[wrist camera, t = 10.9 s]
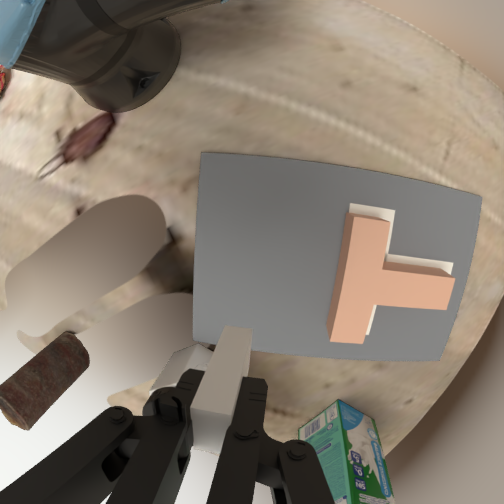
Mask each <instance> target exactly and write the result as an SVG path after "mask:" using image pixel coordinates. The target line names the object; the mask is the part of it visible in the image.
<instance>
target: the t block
mask: <svg viewBox="0 0 504 504" xmlns="http://www.w3.org/2000/svg"><path fill="white" fill-rule="evenodd" d="M390 223H391V222H389V221H387V220H384V219H382V218H380V217H374V216H368V215H361V214H355V213H348V212H346V218H345V225H344V232H343V238H342V245H341V251H340V257H339V263H338V268H337V274H336V279H335V285H334V290H333V295H332V300H331V305H330V310H329V314H328V319H327V323H326V327H327V331H328V336H329V340H330V342H341V343H355V344H363V342H364V339H365V335H366V332H367V328H368V325H369V321H370V317H371V313H372V310H373V306H374V305H384V306H396V307H408V308H422V309H437V310H447V306H448V303H449V300H450V296H451V293H452V289H453V286H454V282H455V278H454V277H453V276H451V275H450V274H448V273H447V272H445V271H444V270H442V269H441V268H433V267H426V266H418V265H410V264H403V263H395V262H387V261H384V257H385V251H386V246H387V241H388V235H389V229H390Z"/></svg>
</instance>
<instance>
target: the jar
mask: <svg viewBox="0 0 504 504" xmlns="http://www.w3.org/2000/svg"><path fill="white" fill-rule="evenodd" d="M213 353H214V352H213V351H211V350H209V349H208V348H206V347H204V346H203V345H201V344H199V343H198V344H195V345H192V346H190V347H187V348H185V349H182V350H179V351H177V352H174V353H173V355H172V356H171V358H170V359H169V361H168V362H167V364H166V366H165V367H164V369H163V370H162V372H161V373H160V375H159V376H158V378H157V379H156V381H155V383H154V384H153V386H152V387H151V389H150V390H149V394H150V397H149V399H148V401H147V402H146V404H145V405H144V407H143V411H142V414H143V416H152V415H154V413H153V407H152V402H151V400H152V399H153V398H154V397H155V396H158V395H160V394H165V393H170V394H172V392H173V390H174V388H175V387H176V385H177V383H178V382H179V379H180V377H181V375H182V374H183V373H184V372H185V371H187V370H188V369H189V368H191V369H197V370H202V371H206V369H207V367H208V364H209V362H210V360H211V357H212V355H213ZM192 446H193V445H192Z"/></svg>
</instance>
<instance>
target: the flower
mask: <svg viewBox="0 0 504 504" xmlns="http://www.w3.org/2000/svg"><path fill="white" fill-rule="evenodd" d="M3 69H4V66H3V65H0V92H2V91H3V89H4V88H5V86H6V84H7V83H8V82H7V83H6V84H5V85H4V78H5V73H1V71H2V70H3ZM0 97H1V95H0Z"/></svg>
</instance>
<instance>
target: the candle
mask: <svg viewBox="0 0 504 504" xmlns="http://www.w3.org/2000/svg"><path fill="white" fill-rule="evenodd" d="M89 363H90V360H89V354H88V352H87V350H86V349H85V347H84V346H83V344H82V343H81V341H80V340H78V339H77V338H76V336H75V335H73V334H71V333H68V332H64V333H63V334H61V335H60V336H59V337H58V338H56V339H55V340H54V341H53V342H51V343H50V344H49V345H48V346H46V347H45V348H44V349H43V350H42V351H40V352H39V353H38V354H37V355H36V356H35V357H33V358H32V359H31V360H30V361H29V362H27V363H26V364H25V365H24V366H23V367H21V368H20V369H19V370H18V371H17V372H16V373H14V374H13V375H12V376H11V377H10V378H8V379H7V380H6V381H5V382H4V383H3V384H1V385H0V409H1V410H2V413H3V414H4V416H5V417H6V418H7V420H8V421H9V422H10V423H11V424H13V425H16V426H18V427H20V428H21V429H24V430H30V428H32V426H33V425H34V424H35V423H36V422H37V421H38V419H39V418H40V417H41V416H42V415H43V414H44V413H45V412H46V411H47V410H48V409H49V408H50V406H51V405H52V404H53V403H54V402H55V401H56V400H57V399H58V398H59V397H60V396H61V395H62V394H63V393H64V392H65V391H66V390H67V389H68V388H69V387H70V386H71V385H72V384H73V383H74V382H75V381H76V380H77V378H78V377H79V376H80V375H81V374H82V373H83V372H84V371H85V370H86V369H87V368H88V367H89Z"/></svg>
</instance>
